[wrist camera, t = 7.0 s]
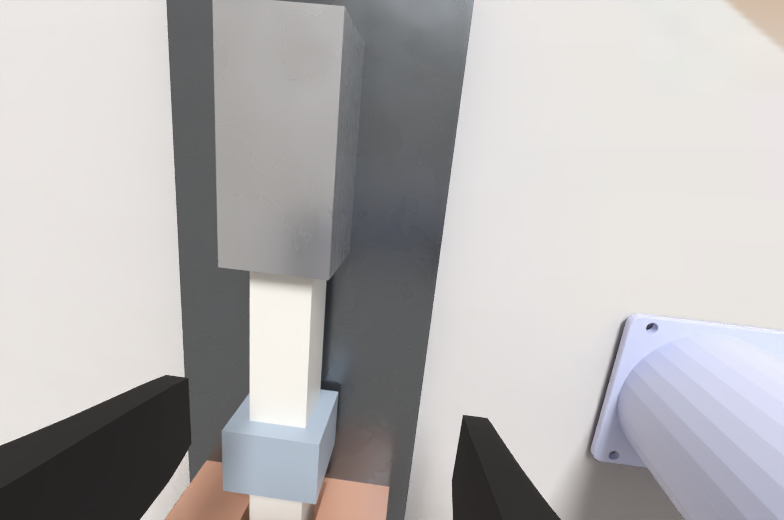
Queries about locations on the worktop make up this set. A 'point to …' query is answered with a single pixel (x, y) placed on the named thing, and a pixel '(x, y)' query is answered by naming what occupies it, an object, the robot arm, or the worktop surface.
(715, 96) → the worktop surface
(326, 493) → the socket block
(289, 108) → the sleeve base
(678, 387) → the robot arm
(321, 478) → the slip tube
